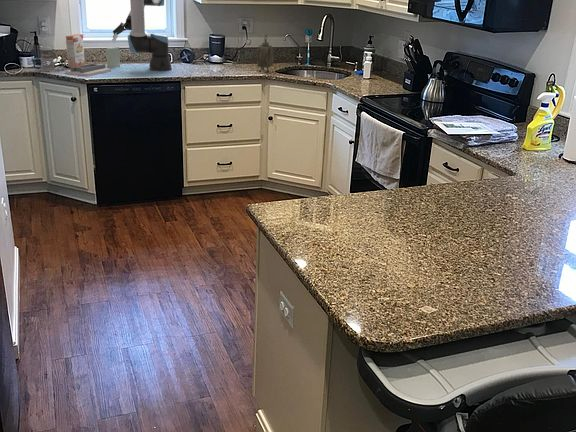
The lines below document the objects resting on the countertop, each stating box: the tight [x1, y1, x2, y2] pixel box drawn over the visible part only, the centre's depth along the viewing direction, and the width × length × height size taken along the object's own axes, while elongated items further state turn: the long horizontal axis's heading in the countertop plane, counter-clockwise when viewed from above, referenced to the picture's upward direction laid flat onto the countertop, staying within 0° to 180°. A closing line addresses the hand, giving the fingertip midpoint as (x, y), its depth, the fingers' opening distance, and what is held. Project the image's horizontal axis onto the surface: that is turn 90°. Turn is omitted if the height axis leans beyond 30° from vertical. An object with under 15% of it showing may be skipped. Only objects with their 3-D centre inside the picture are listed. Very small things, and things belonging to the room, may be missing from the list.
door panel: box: [105, 46, 121, 69], centre depth 430 cm, size 4×9×13 cm, turn 158°
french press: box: [39, 30, 59, 72], centre depth 404 cm, size 10×12×25 cm
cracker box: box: [65, 33, 86, 69], centre depth 423 cm, size 14×6×21 cm, turn 171°
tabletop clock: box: [256, 34, 275, 73], centre depth 435 cm, size 14×9×25 cm, turn 170°
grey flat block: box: [64, 62, 112, 77], centre depth 408 cm, size 18×24×4 cm
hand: (121, 42), depth 436 cm, fingers open, 13 cm apart
